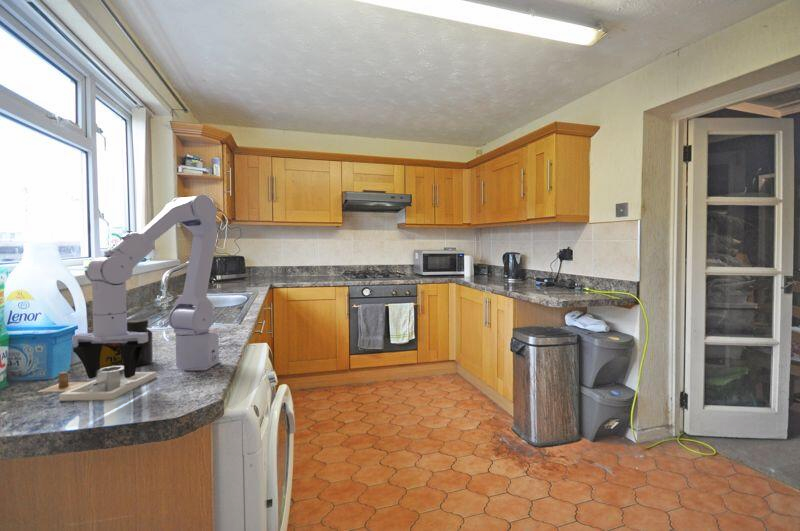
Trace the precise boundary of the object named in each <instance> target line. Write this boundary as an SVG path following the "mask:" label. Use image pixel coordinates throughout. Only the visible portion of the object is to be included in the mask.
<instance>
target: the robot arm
mask: <svg viewBox="0 0 800 531" xmlns="http://www.w3.org/2000/svg"><path fill="white" fill-rule="evenodd" d="M217 213H218V207H217V206H216V204H215V203H214V201H213V200H212V199H211V197H209V196H207V195H205V194H199V195H194V196H187V197H184V196H182V197H181V196H179V197H178V196H177V197H175V198H173V199H172V200H171V202H169V203H167V204H165V207H164V208H163V209H162V210H161V211H160V212H159V213H158V214H157V215H156V216H155V217H154V218H152V220H151V221H150V222H149V223H148V224H147V225H146V226H145V227H143V229H141V230H140V231H139V232H135V231H134V232H133V231H131V232H130V233H123V235H121V236H120V239H121V240H120V241H119V242H117V243H116V244H115V245H114V246H112V248H109V249H106V250H104V252H103V254H104V256H100V257H96V258H94V259H92V260H90V262H89V263H88V265H87V269H86V270H84V275H85V277H86V279H87V280H88V281H89V282H90V283H91V292H92V293H91V294H92V295H91V297H92V324H93V325H92V327H93V332H87V333H86V332H85V333H77V334H74V335H72V337H71V338H72V345H77V346H75V347H73V348H72V349H73V351H72V352H73V353H74V354H76V356H77V357H78V359H79V360H80V361H81V364H82V365H83V368H84V370H85V372H86V374H87V378H88V379H89V380H90V379H95V378H96V370H99V369H101V367H100V355H101V350H102V346H103V343H127V344H125V345H122V346H119V349H120V351H121V354H122V358H123V362H124V375H125V378H130V377H132V376H134V375H135V372H137V371H136V370H137V368H138V367H137V364H138V361H139V358H140V356H141V354H142V352H143V350H144V348H145V347H146V345H147V341H148V333H142V332H128V331H127V321H128V315H127V314H128V311H127V308H128V307H127V281H128V280H130V279H131V278H132V276H133V273H134V272H133V270H134V268H135V267H136V266H137V265H138V264H140V263H141V262H142V261H143V260H144V259H145V258H146V257H148V255H149V254H150V253H152V252H153V251H154V242H155V241H157V240H158V239H159V238H160V237H161V236H163V235H164V234H165V233H166V232H168V231H169V230H171V228H173V227H174V226H175V225H176V224H178V223H180V224H181V225H182V226H183V227H185V228H186V229H187V230H188V231H190V233H191V234H192V235H193V238H192V244H191V250H190V255H189V259H188V264H187V271H186V275H185V281H184V286H183V291H182V294H181V295H180V296H179V297H178V298H176V300H175V301H174V304H173V308H172V309H171V311H170V312H169V314H168V319H167V320H168V324H169V327H170V328H171V329H173V332H174V333H173V334H175V365H173V366H171V367H169V368H168V369H167V370H168V371H184V372H185V371H208V370H209V369H210V368H212V367H214V366H216V365H217V364H219V363H220V362H221V360H220V358H219V357H220V356H219V355H220V354H219V353H220V351H219V349H220V348H219V337H218V334H217V333H216V332H210V330H209V329H210V328H211V327H212V325H213V323H214V318H215V317H214V313H213V312H214V311H213V305H214V304H213V302H212V301H211V300H210V298H208V289H209V284H210V278H211V273H212V267H213V262H214V256H215V249H216V245H217V238H218V234H219V233H218V225H217V216H218V215H217ZM136 367H137V368H136Z"/></svg>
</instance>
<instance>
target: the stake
mask: <svg viewBox="0 0 800 531" xmlns="http://www.w3.org/2000/svg"><path fill="white" fill-rule="evenodd" d="M57 375H58V376H57V379H58V383H57V384H53V385H51V386H49V387H45V388H43V389H40V390H37V391H36V392H37V393H49V392H50V393H55V392H56V393H57V392H62V393H64V392H66V391H69V390H71V389H73V388H76V387H78V386H81V385H83V384H86V383H88V382H89V381H70V382H69V371H61V372H59V373H58V374H57Z"/></svg>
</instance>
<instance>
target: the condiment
mask: <svg viewBox="0 0 800 531" xmlns="http://www.w3.org/2000/svg"><path fill="white" fill-rule="evenodd" d="M119 346H121V343H103V346H102V350H101V355H100V368H105V367H111V366H118V365H120V364H121V351H120V349H119Z"/></svg>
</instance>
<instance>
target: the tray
mask: <svg viewBox="0 0 800 531" xmlns="http://www.w3.org/2000/svg"><path fill="white" fill-rule="evenodd" d="M155 379H157V371H135V375H134V376H132V377H130V378H127V384H125V385H123V386H121V387H119V388H117V389H115V390H112V391H109V392H92V385H94V384H96V379H93V380H91V381H87V382H88V383H85V384H83V385H80V386H78V387H76V388H73V389H71V390H68V391H66V392H62V393H60V394H59V395H58V396H59V402H79V401H80V402H81V401H85V402H87V401H92V402H93V401H113V400H115V399H116V398H119V397H121V396H122V395H125V394H127V393H129V392H131V391H133V390H134V389H137V388H138V387H140V386H143V385H144V384H146V383H149V382H150V381H151V382H152V380H155Z"/></svg>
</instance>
